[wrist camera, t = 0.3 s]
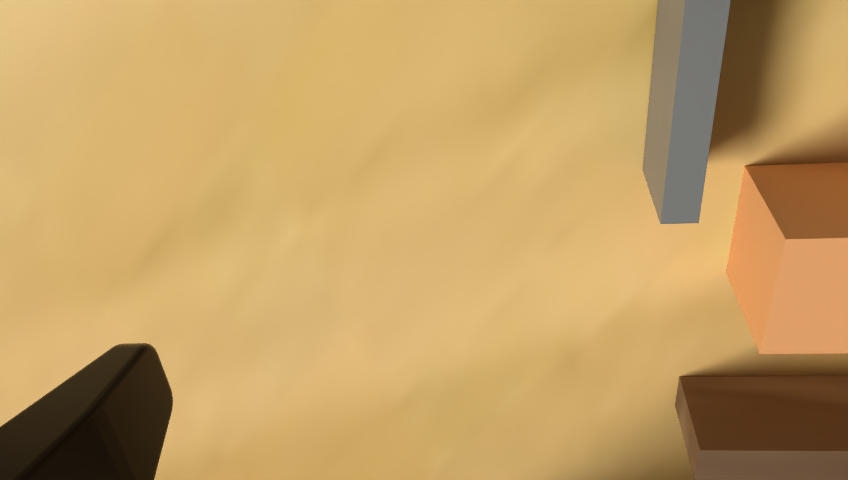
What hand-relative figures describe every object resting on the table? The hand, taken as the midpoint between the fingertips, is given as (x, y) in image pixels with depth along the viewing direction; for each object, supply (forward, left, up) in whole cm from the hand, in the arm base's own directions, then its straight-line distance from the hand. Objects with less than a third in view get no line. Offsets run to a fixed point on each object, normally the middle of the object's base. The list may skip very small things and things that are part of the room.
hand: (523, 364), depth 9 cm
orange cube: (-7, -9, -14) cm, 18 cm away
